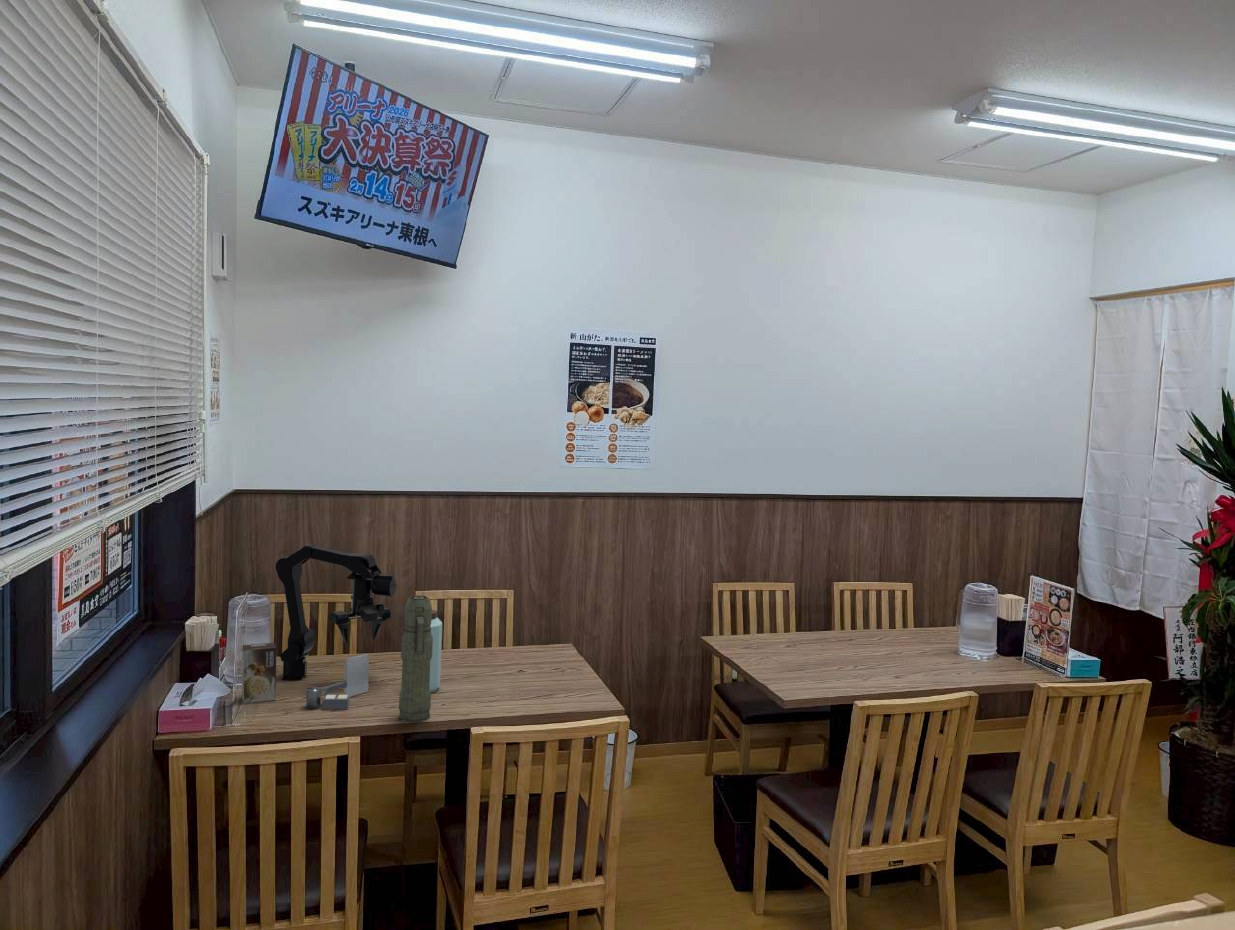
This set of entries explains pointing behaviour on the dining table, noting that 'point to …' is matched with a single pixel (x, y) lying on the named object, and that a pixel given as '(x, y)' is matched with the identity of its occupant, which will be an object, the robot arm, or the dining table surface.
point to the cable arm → (352, 682)
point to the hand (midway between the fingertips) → (359, 641)
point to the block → (336, 702)
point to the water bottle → (435, 652)
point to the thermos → (416, 660)
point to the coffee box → (259, 672)
